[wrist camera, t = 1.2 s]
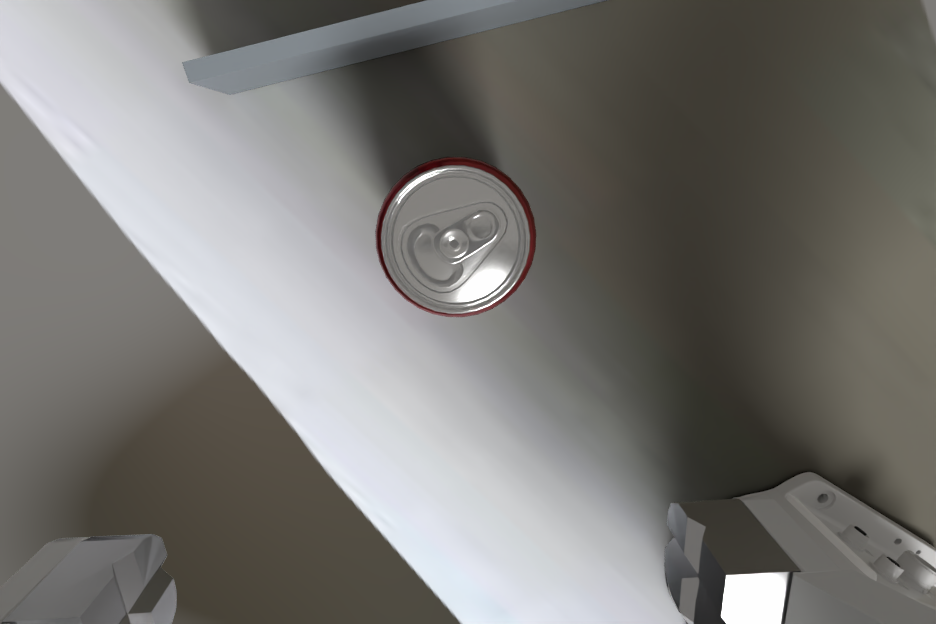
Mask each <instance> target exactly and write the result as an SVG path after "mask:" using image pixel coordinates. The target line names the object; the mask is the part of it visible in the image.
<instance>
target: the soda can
mask: <svg viewBox="0 0 936 624" xmlns="http://www.w3.org/2000/svg"><path fill="white" fill-rule="evenodd" d="M375 232H376V249H377V254H378V258H379V262H380V265H381V267H382V269H383V271H384V273H385V276H386V278H387V279H388V280H389V282H390V283H391V285H392V286H393V287H394V289H395V290H396V291H397V292H398V293H399V294H400V295H401V296H402V297H403V298H404V299H405V300H407V301H408V302H410V303H411V304H413V305H414V306H416V307H418V308H419V309H422V310H424V311H427V312H429V313H432V314H435V315H440V316H445V317H467V316H472V315H478V314H480V313H483V312H486V311H488V310H491V309H493V308H494V307H496V306H498V305H499V304H501V303H502V302H504V301H505V300H506V299H508V298H509V297H510V296H511V295H512V294H513V293H514V292H515V291H516V290H517V289H518V287H519V286H520V285H521V283H522V282H523V280H524V279H525V277H526V275H527V273H528V271H529V269H530V267H531V265H532V261H533V257H534V253H535V247H536V229H535V222H534V217H533V214H532V211H531V208H530V206H529V203H528V201H527V199H526V198H525V196H524V194H523V193H522V191H521V189H520V188H519V187H518V186H517V185H516V184H515V183H514V182H513V181H512V180H511V178H510V177H508V176H507V175H506V174H504V173H503V172H502V171H500V170H499V169H497V168H496V167H494V166H492V165H489V164H487V163H485V162H483V161H480V160H476V159H471V158H467V157H445V158H440V159H435V160H431V161H429V162H426V163H424V164H422V165H419V166H417V167H415V168H414V169H413V170H411V171H410V172H408V173H407V174H405V175H404V176H403V177H402V178H401V179H400V180H399V181H398V182H397V183H396V184H395V185H394V186H393V187H392V189H391V190H390V192H389V193H388V195H387V197H386V198H385V200H384V202H383V204H382V207H381V209H380V212H379V215H378V219H377V225H376V231H375Z"/></svg>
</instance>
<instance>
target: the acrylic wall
mask: <svg viewBox="0 0 936 624" xmlns="http://www.w3.org/2000/svg"><path fill="white" fill-rule="evenodd" d="M603 1H607V0H426V1H422V2H418V3H414V4H410V5H406V6H402V7H398V8H395V9H391V10H387V11H383V12H379V13H375V14H371V15H367V16H363V17H359V18H355V19H351V20H347V21H343V22H339V23H336V24H332V25H328V26H324V27H320V28H316V29H312V30H308V31H304V32H300V33H296V34H292V35H288V36H284V37H280V38H276V39H273V40H269V41H265V42H261V43H257V44H253V45H249V46H245V47H241V48H237V49H233V50H229V51H225V52H221V53H217V54H214V55H210V56H206V57H202V58H198V59H194V60H190V61H186V62H182V64H183V66H184V69H185V72H186V75H187V78H188V81H189V83H191V84H195V85H198V86H202V87H205V88H208V89H212V90H215V91H219V92H222V93H225V94H229V95H231V94H235V93H239V92H243V91H247V90H251V89H255V88H259V87H263V86H267V85H271V84H275V83H279V82H283V81H287V80H291V79H295V78H299V77H303V76H307V75H311V74H315V73H319V72H323V71H327V70H331V69H335V68H339V67H343V66H347V65H351V64H355V63H359V62H363V61H367V60H371V59H375V58H379V57H383V56H387V55H391V54H395V53H399V52H403V51H407V50H411V49H415V48H419V47H423V46H427V45H431V44H435V43H439V42H443V41H447V40H451V39H455V38H459V37H463V36H467V35H471V34H475V33H479V32H483V31H487V30H491V29H495V28H499V27H503V26H507V25H511V24H515V23H519V22H523V21H527V20H531V19H535V18H539V17H543V16H547V15H551V14H555V13H559V12H563V11H567V10H571V9H575V8H579V7H583V6H587V5H591V4H595V3H599V2H603Z"/></svg>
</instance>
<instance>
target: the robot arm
mask: <svg viewBox="0 0 936 624" xmlns="http://www.w3.org/2000/svg"><path fill="white" fill-rule="evenodd" d="M819 495H820V496H819ZM818 496H819V497H818ZM667 525H668V527H669V529H670V531H671V532H672V534H673V536H674V537H673V539H672V540H671V541H670V542H669V543H668V545H667V546H666V547H665V563H664V566H665V572H666V578H667V584H668V588H669V592H670V596H671V598H672V600H673V602H674V604H675V606H676V607H677V609H678V611H679V612H680V613H681V614H682V616H683V617H684V618H685V620H686V621H687V623H688V624H936V549H935V548H934V547H933V546H932V545H930V544H929V543H927V542H926V541H924V540H923V539H921V538H919V537H918V536H916V535H914V534H913V533H911V532H910V531H908V530H906V529H905V528H903V527H902V526H900V525H898V524H897V523H895V522H893V521H892V520H890V519H889V518H887V517H885V516H884V515H882V514H881V513H879V512H877V511H876V510H874V509H872V508H871V507H869V506H868V505H866V504H864V503H863V502H861V501H860V500H858V499H856V498H855V497H853V496H851V495H850V494H848V493H847V492H845V491H843V490H842V489H840V488H839V487H837V486H835V485H834V484H832V483H830V482H829V481H827V480H826V479H824V478H822V477H821V476H819V475H817V474H815V473H812V472H806V473H802V474H799V475H797V476H795V477H793V478H791V479H789V480H787V481H785V482H784V483H782V484H780V485H779V486H777V487H775V488H773V489H770V490H767V491H763V492H758V493H753V494H749V495H744V496H741V497H734V498H733V499H719V500H704V501H689V502H674V503H671V505H670V507H669V510H668V516H667ZM166 557H167V553H166V550H165V547H164V543H163V540H162V538H161V537H158V536H156V535H154V534H147V535H122V536H121V535H120V536H94V537H90V538H89V537H79V538H60V539H57V540H55V541H52V542H49V543H47V544H46V545H45V546H44V547H43V548H42V549H40V550H39V551H38V552H37V553H36V554H35V555H34V556H33V557H32V558H31V559H30V560H29V561H28V562H27V563H26V564H25V565H23V566H22V568H20V569H19V570H18V571H17V572H16V573H15V574H14V575H13V576H12V577H11V578H10V579H9V580H8V581H6V583H4V584H3V585H2V586H1V587H0V624H172V621H173V617H174V614H175V610H176V588H175V583H174V579H173V578H172V577H171V576H170V575H169V574H168V573H166V572H165V571H164V570H163V569H162V568H161V565H162V564H163V562H164V560H165V558H166Z"/></svg>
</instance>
